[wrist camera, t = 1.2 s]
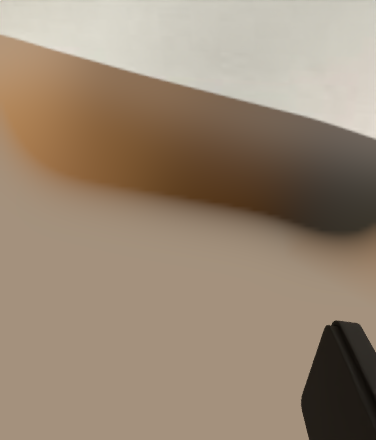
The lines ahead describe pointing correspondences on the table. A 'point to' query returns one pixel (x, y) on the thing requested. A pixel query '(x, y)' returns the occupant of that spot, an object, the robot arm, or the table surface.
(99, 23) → the table surface
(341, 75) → the table surface
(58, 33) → the table surface
